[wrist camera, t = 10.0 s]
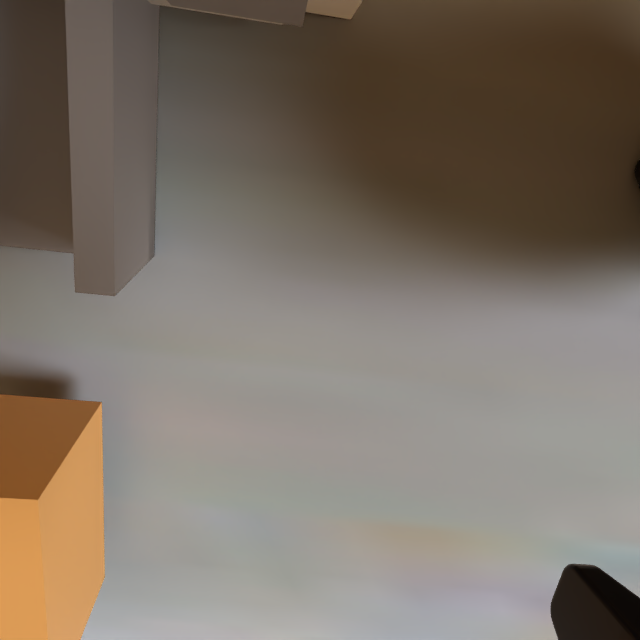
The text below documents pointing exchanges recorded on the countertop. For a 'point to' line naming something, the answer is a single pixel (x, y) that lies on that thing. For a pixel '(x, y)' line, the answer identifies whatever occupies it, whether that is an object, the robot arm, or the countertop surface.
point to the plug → (50, 516)
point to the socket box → (94, 124)
